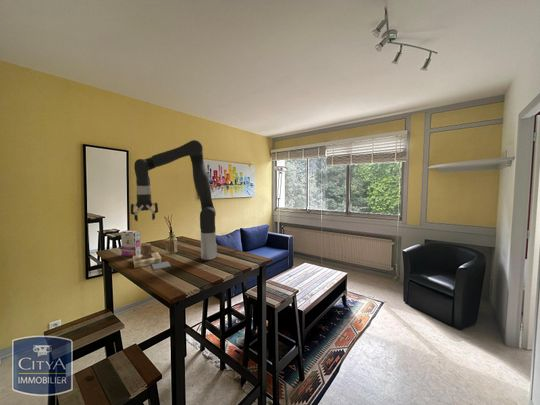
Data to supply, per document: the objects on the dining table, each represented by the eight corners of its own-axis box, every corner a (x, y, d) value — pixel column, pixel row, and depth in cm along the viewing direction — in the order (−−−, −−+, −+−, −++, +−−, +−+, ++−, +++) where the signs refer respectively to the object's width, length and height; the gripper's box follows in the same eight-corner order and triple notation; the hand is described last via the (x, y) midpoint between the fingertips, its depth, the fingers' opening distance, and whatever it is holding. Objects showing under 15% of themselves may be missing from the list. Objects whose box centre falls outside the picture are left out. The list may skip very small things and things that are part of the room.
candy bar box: (141, 255, 149) (140, 231, 147) (135, 257, 144) (134, 232, 142) (127, 253, 151) (126, 229, 150) (121, 255, 147) (120, 231, 145)
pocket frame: (157, 256, 146) (157, 252, 146) (161, 263, 135) (161, 258, 135) (132, 260, 138) (132, 255, 138) (134, 267, 127) (134, 262, 127)
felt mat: (168, 262, 137) (168, 261, 137) (171, 266, 129) (171, 265, 129) (151, 265, 131) (151, 264, 131) (153, 270, 124) (153, 269, 124)
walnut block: (150, 260, 140) (150, 243, 139) (151, 262, 136) (151, 244, 135) (142, 261, 137) (141, 244, 136) (143, 263, 134) (142, 245, 133)
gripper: (156, 192, 139) (157, 218, 141) (129, 193, 131) (130, 220, 132) (158, 193, 133) (159, 220, 134) (130, 194, 125) (131, 222, 126)
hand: (145, 220), depth 133 cm, fingers open, 8 cm apart
